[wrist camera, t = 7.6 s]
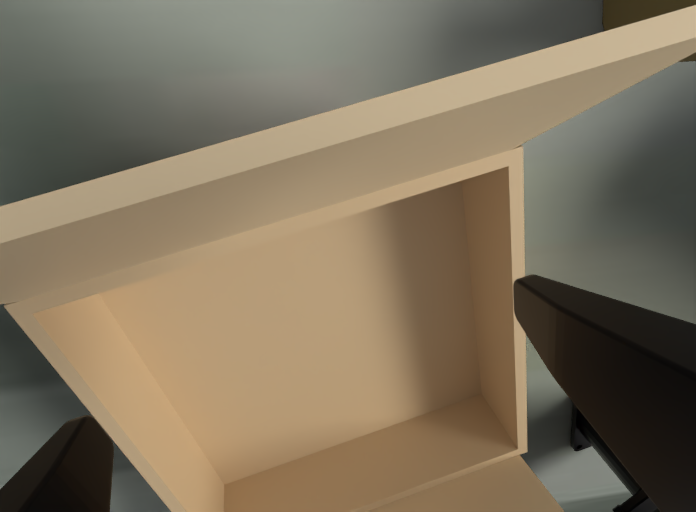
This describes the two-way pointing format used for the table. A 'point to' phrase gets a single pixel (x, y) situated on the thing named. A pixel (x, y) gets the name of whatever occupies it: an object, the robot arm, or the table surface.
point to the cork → (640, 12)
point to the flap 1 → (322, 158)
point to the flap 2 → (482, 492)
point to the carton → (312, 350)
